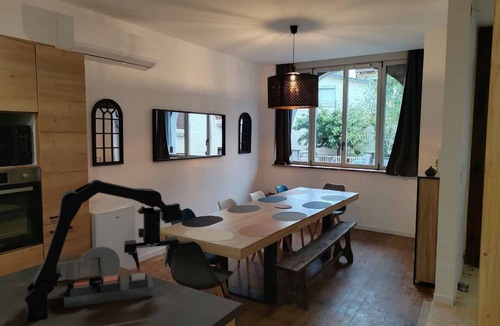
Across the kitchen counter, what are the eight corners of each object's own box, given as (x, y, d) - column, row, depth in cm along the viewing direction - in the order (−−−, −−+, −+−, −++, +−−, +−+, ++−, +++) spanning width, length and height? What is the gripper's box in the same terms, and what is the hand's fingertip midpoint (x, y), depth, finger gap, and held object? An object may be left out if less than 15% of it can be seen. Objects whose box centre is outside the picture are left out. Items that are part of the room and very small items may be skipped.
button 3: (88, 292, 117) (88, 283, 117) (73, 294, 115) (73, 285, 115) (89, 287, 121) (89, 278, 121) (75, 288, 119) (75, 280, 119)
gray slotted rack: (153, 295, 123) (153, 279, 123) (64, 308, 113) (63, 290, 113) (151, 284, 132) (151, 269, 132) (68, 295, 123) (67, 278, 122)
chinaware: (131, 267, 139) (129, 260, 133) (102, 300, 131) (99, 294, 125) (102, 246, 142) (98, 239, 136) (72, 277, 134) (67, 271, 127)
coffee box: (52, 271, 125) (102, 263, 131) (52, 289, 122) (102, 281, 128) (48, 263, 118) (100, 256, 123) (47, 283, 115) (101, 274, 120)
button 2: (117, 288, 120) (117, 279, 120) (103, 290, 118) (103, 281, 118) (117, 283, 124) (117, 275, 124) (104, 285, 122) (103, 276, 122)
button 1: (145, 279, 123) (145, 271, 123) (131, 281, 121) (131, 272, 121) (144, 274, 127) (144, 266, 127) (131, 276, 125) (131, 268, 125)
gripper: (175, 218, 135) (175, 258, 136) (123, 221, 129) (124, 263, 130) (179, 224, 125) (180, 267, 126) (124, 229, 118) (124, 274, 120)
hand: (152, 268), depth 126 cm, fingers open, 9 cm apart
